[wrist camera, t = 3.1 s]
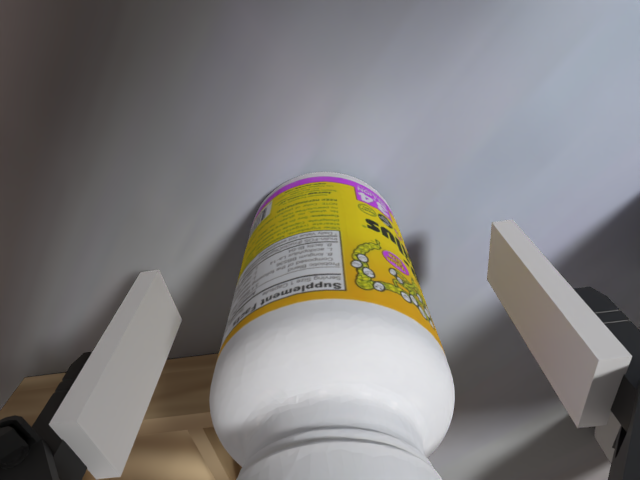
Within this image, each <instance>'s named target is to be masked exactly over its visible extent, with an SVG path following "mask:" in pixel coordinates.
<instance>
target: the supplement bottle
mask: <svg viewBox="0 0 640 480" xmlns="http://www.w3.org/2000/svg"><path fill="white" fill-rule="evenodd" d="M209 403H210V414H211V418H212V422H213V426H214V429H215V431H216V434H217V436H218V438H219V440H220V442H221V443H222V445H223V447H224V448H225V449H226V451H227V452H228V453H229V455H230V456H231V457H232V458H233V459H234V460H235V461H236V462H237V463H238V464H239V465H240V466H241V467H242V469H241V470H240V473H239V475H238V478H237V479H236V480H442V478H441V477H440V476H439V474H438V473H437V471H436V470H435V469H434V468H433V466H432V464H431V463H430V461H429V460H428V458H429V457H430V456H431V455H432V453H433V452H434V451H435V450H436V449H437V448H438V446H439V445H440V443H441V442H442V440H443V439H444V437H445V435H446V433H447V431H448V428H449V426H450V423H451V419H452V416H453V411H454V403H455V389H454V383H453V378H452V374H451V371H450V368H449V365H448V362H447V359H446V356H445V353H444V350H443V347H442V345H441V342H440V339H439V337H438V334H437V331H436V329H435V326H434V323H433V321H432V318H431V316H430V313H429V310H428V307H427V305H426V302H425V299H424V296H423V293H422V290H421V288H420V285H419V282H418V279H417V277H416V274H415V272H414V268H413V265H412V263H411V260H410V258H409V255H408V251H407V249H406V246H405V244H404V241H403V238H402V236H401V233H400V230H399V228H398V225H397V222H396V220H395V218H394V215H393V213H392V211H391V209H390V207H389V206H388V204H387V202H386V201H385V200H384V198H383V197H382V196H381V195H380V194H379V193H378V192H377V191H376V190H375V189H373V188H372V187H371V186H370V185H368V184H366V183H365V182H363V181H361V180H359V179H357V178H355V177H352V176H349V175H346V174H341V173H336V172H314V173H308V174H304V175H301V176H298V177H296V178H293V179H291V180H289V181H287V182H285V183H283V184H282V185H280V186H279V187H277V188H276V189H275V190H274V191H273V192H272V193H270V194H269V195H268V196H267V198H266V199H265V200H264V201H263V203H262V204H261V206H260V208H259V209H258V211H257V213H256V215H255V218H254V221H253V224H252V227H251V231H250V234H249V238H248V243H247V246H246V250H245V253H244V258H243V262H242V266H241V270H240V273H239V277H238V281H237V286H236V290H235V294H234V297H233V302H232V305H231V309H230V313H229V317H228V321H227V325H226V328H225V332H224V336H223V340H222V344H221V347H220V351H219V355H218V358H217V362H216V366H215V370H214V374H213V378H212V383H211V388H210V397H209Z"/></svg>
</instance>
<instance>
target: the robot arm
mask: <svg viewBox="0 0 640 480" xmlns="http://www.w3.org/2000/svg"><path fill="white" fill-rule="evenodd" d="M487 280H488V282H489V283H490V285H491V287H492V288H493V290H494V292H495V293H496V295H497V297H498V298H499V300H500V302H501V303H502V305H503V306H504V308H505V310H506V311H507V313H508V315H509V316H510V318H511V320H512V321H513V323H514V325H515V326H516V328H517V330H518V331H519V333H520V334H521V336H522V338H523V339H524V341H525V343H526V344H527V346H528V348H529V349H530V351H531V353H532V354H533V356H534V358H535V359H536V361H537V362H538V364H539V366H540V367H541V369H542V371H543V372H544V374H545V376H546V377H547V379H548V381H549V382H550V384H551V386H552V387H553V389H554V390H555V392H556V394H557V395H558V397H559V399H560V400H561V402H562V404H563V405H564V407H565V409H566V410H567V412H568V414H569V415H570V417H571V418H572V420H573V422H574V423H575V425H576V427H577V428H584V427H593V426H603V425H607V422H608V419H609V417H610V414H611V412H612V413H613V414H614V416H615V417H616V419H617V420H618V421H619V423H620V424H621V427H620V429H619V431H618V434H617V436H616V439H615V441H614V444H613V446H612V448H614V449H615V450H614V454H613V459H612V463H611V468H610V472H609V477H608V480H640V331H639V329H638V328H637V327H636V326H635V325H634V324H633V323H632V322H629V321H628V318H627V317H626V316H625V315H624V314H623V313H622V312H621V311H619V309H618V308H617V307H616V306H615V305H614V304H613V302H612V301H611V300H610V299H609V298H608V297H607V296H605V295H603V294H601V293H600V292H598V291H596V290H594V289H593V288H591V287H584V288H577V289H573V288H572V287H571V286H570V285H569V283H568V282H567V281H566V280H565V279H564V278H563V277H562V275H561V274H560V273H559V272H558V271H557V270H556V269H555V267H554V266H553V265H552V264H551V263H550V262H549V261H548V259H547V258H546V257H545V256H544V255H543V254H542V253H541V251H540V250H539V249H538V248H537V247H536V246H535V245H534V243H533V242H532V241H531V240H530V239H529V238H528V237H527V235H526V234H525V233H524V232H523V231H522V230H521V229H520V227H519V226H518V225H517V224H516V223H515V222H514V221H513V220H506V221H499V222H492V227H491V239H490V251H489V263H488V275H487ZM181 321H182V319H181V316H180V314H179V312H178V310H177V308H176V306H175V303H174V301H173V299H172V297H171V295H170V293H169V290H168V288H167V286H166V284H165V282H164V279H163V277H162V275H161V273H160V271H159V270H152V271H145V272H140V274H139V276H138V277H137V279H136V281H135V282H134V284H133V286H132V287H131V289H130V291H129V292H128V294H127V295H126V297H125V299H124V300H123V302H122V304H121V305H120V307H119V309H118V310H117V312H116V314H115V315H114V317H113V319H112V320H111V322H110V324H109V325H108V327H107V329H106V330H105V332H104V334H103V335H102V337H101V339H100V340H99V342H98V343H97V345H96V347H95V348H94V350H93V352H87V353H83V354H82V355H81V356H80V357H79V358H78V359H77V360H76V361H75V362H74V363H73V364H72V365H71V366H70V368H69V369H68V371H67V372H66V374H65V375H64V377H63V379H62V382H60V383H59V385H58V386H57V388H56V389H55V393H53V394H52V396H51V397H50V399H49V400H48V402H47V404H46V405H45V407H44V408H43V410H42V411H41V413H40V415H39V416H38V418H37V419H36V421H35V422H34V424H33V425H32V427H31V426H30V425H29V424H28V423H27V421H26V420H25V419H24V418H23V417H21V416H16V415H14V416H9V417H5V418H3V419H1V420H0V480H82V478H83V476H84V474H85V472H86V470H87V469H88V471H89V472H90V473H91V474H92V475H93V476H94V477H95V479H104V478H113V477H121V475H122V472H123V470H124V467H125V464H126V462H127V459H128V457H129V454H130V452H131V449H132V447H133V444H134V441H135V439H136V436H137V434H138V431H139V429H140V426H141V424H142V421H143V418H144V416H145V413H146V411H147V408H148V406H149V403H150V401H151V398H152V395H153V393H154V390H155V388H156V385H157V383H158V380H159V378H160V375H161V372H162V370H163V367H164V365H165V362H166V360H167V357H168V355H169V352H170V349H171V347H172V344H173V342H174V339H175V337H176V334H177V332H178V329H179V326H180V324H181Z"/></svg>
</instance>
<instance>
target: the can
mask: <svg viewBox="0 0 640 480" xmlns="http://www.w3.org/2000/svg"><path fill="white" fill-rule="evenodd" d="M620 427H621V424H620V423H619V421H618V420H617V419H616V417H615V416H614V414H613V413H612V412H611V414H610V417H609V419H608V422H607V425H603V426H596V427H595V436H594V437H595V438H596V440H597V442H598V444H599V445H600V447H601V449H602V450H603V452H604V453H605V455H606V456H607V458H608V460H609V461H610V463H612V459H613V454H614V450H615V449H614V448H612V446H613V444H614V441H615V439H616V436H617V434H618V431H619V429H620Z"/></svg>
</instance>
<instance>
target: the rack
mask: <svg viewBox="0 0 640 480" xmlns="http://www.w3.org/2000/svg"><path fill="white" fill-rule="evenodd" d="M218 355H219V353H217V354H209V355H201V356H193V357H185V358H177V359H169V360H166V362H165V365H164V367H163V370H162V372H161V375H160V378H159V380H158V383H157V385H156V388H155V390H154V393H153V395H152V398H151V401H150V403H149V406H148V408H147V411H146V413H145V416H144V418H143V421H142V424H141V426H140V429H139V431H138V434H137V436H136V439H135V441H134V444H133V447H132V449H131V452H130V454H129V457H128V459H127V462H126V464H125V467H124V470H123V472H122V475H121V477H113V478H104V479H95V477H94V476H93V475H92V474H91V473H90V472H89V471H88V469H87V470H86V472H85V474H84V476H83V478H82V480H236V479H237V478H238V475H239V473H240V470H241V469H242V467H241V466H240V465H239V464H238V463H237V462H236V461H235V460H234V459H233V458H232V457H231V456H230V455H229V453H228V452H227V451H226V449H225V448H224V447H223V445H222V443H221V442H220V440H219V438H218V436H217V434H216V431H215V429H214V426H213V422H212V418H211V414H210V403H209V397H210V388H211V383H212V378H213V374H214V370H215V366H216V362H217V358H218ZM65 374H66V373H58V374H50V375H42V376H34V377H26V378H24V379H23V381H22V382H21V383H20V385H19V386H18V387H17V389H16V390H15V392H14V393H13V394H12V396H11V397H10V398H9V400H8V401H7V402H6V404H5V405H4V406H3V408H2V409H1V410H0V420H1V419H3V418H5V417H9V416H14V415H16V416H21V417H23V418H24V419H25V420H26V421H27V423H28V424H29V425H30V426H31V427H32V425H33V424H34V422H35V421H36V419H37V418H38V416H39V415H40V413H41V411H42V410H43V408H44V407H45V405H46V404H47V402H48V400H49V399H50V397H51V396H52V394H53V393H55V389H56V388H57V386H58V385H59V383H60V382H62V379H63V377H64V375H65Z"/></svg>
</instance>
